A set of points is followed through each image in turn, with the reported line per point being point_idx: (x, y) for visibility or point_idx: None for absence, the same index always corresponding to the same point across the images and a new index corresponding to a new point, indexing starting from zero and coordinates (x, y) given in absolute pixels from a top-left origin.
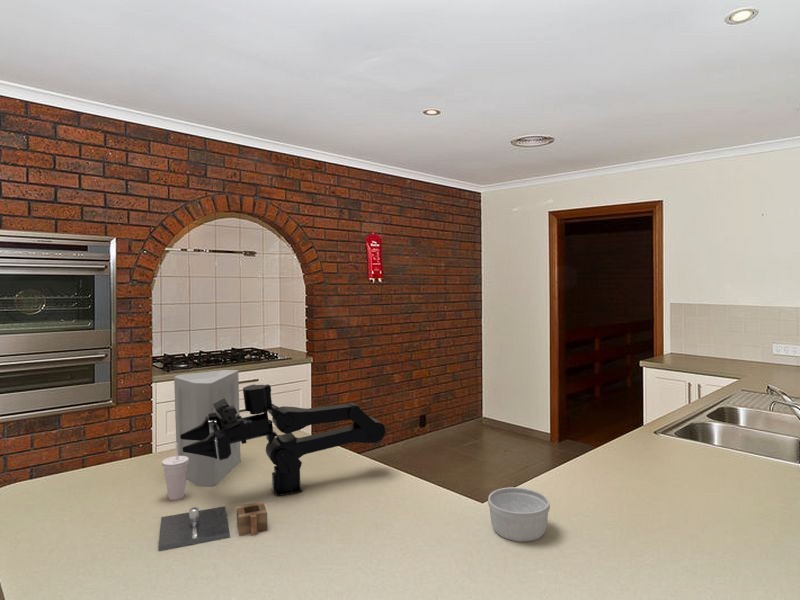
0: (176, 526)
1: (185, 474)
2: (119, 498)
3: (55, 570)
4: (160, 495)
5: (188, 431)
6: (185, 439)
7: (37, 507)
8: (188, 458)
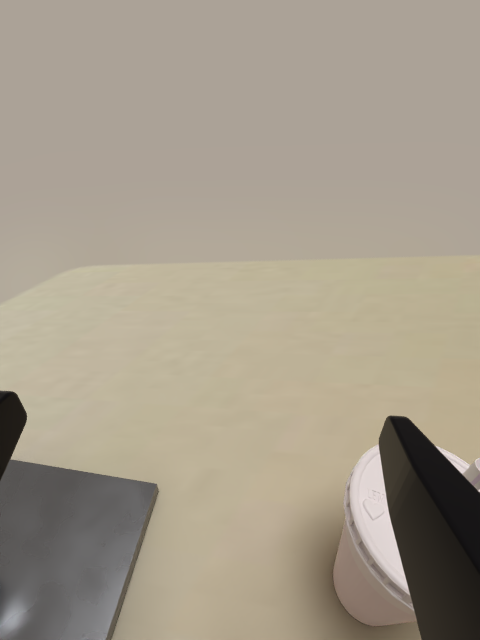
0: (33, 523)
1: (385, 605)
2: (407, 400)
3: (88, 302)
4: None
5: (446, 489)
6: (386, 490)
7: (394, 283)
8: None
